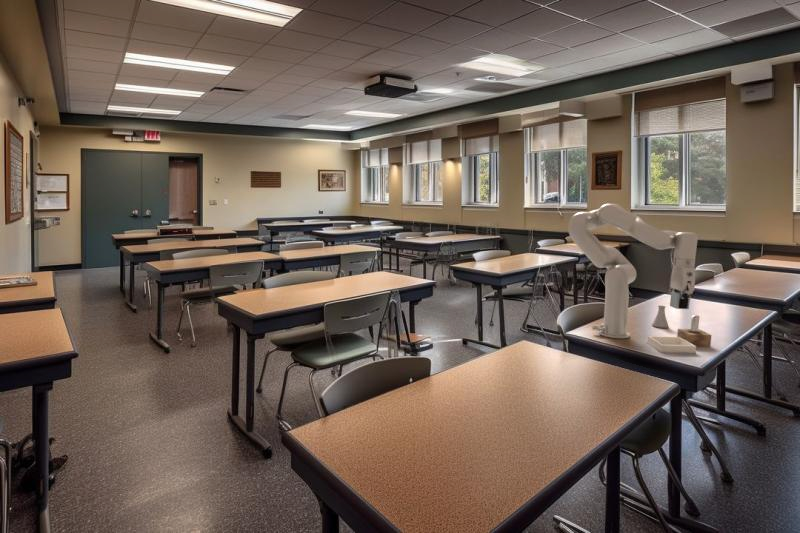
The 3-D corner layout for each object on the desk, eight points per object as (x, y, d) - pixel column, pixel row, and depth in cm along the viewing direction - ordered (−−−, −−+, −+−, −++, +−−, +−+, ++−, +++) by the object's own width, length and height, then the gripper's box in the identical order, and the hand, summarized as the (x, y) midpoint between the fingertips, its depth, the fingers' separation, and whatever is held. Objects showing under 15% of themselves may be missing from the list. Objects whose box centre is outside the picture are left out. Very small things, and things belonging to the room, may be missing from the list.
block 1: (676, 308, 195) (677, 293, 194) (669, 305, 200) (671, 291, 199) (688, 309, 195) (690, 294, 194) (681, 306, 200) (683, 291, 199)
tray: (661, 352, 191) (662, 345, 191) (647, 343, 204) (647, 336, 204) (695, 353, 191) (696, 346, 190) (679, 344, 203) (679, 337, 203)
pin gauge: (691, 344, 203) (693, 316, 202) (687, 342, 206) (690, 314, 204) (698, 344, 203) (700, 316, 201) (694, 342, 206) (697, 315, 204)
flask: (669, 326, 233) (671, 305, 232) (668, 329, 227) (669, 308, 226) (652, 323, 237) (654, 304, 236) (650, 327, 231) (652, 306, 230)
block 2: (687, 346, 200) (688, 334, 200) (676, 340, 209) (677, 328, 208) (710, 346, 200) (711, 335, 199) (698, 340, 209) (699, 329, 208)
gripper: (705, 266, 186) (700, 312, 189) (681, 260, 203) (677, 302, 206) (686, 265, 186) (681, 311, 189) (663, 259, 203) (659, 301, 206)
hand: (679, 306), depth 197 cm, fingers closed on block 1, 5 cm apart
